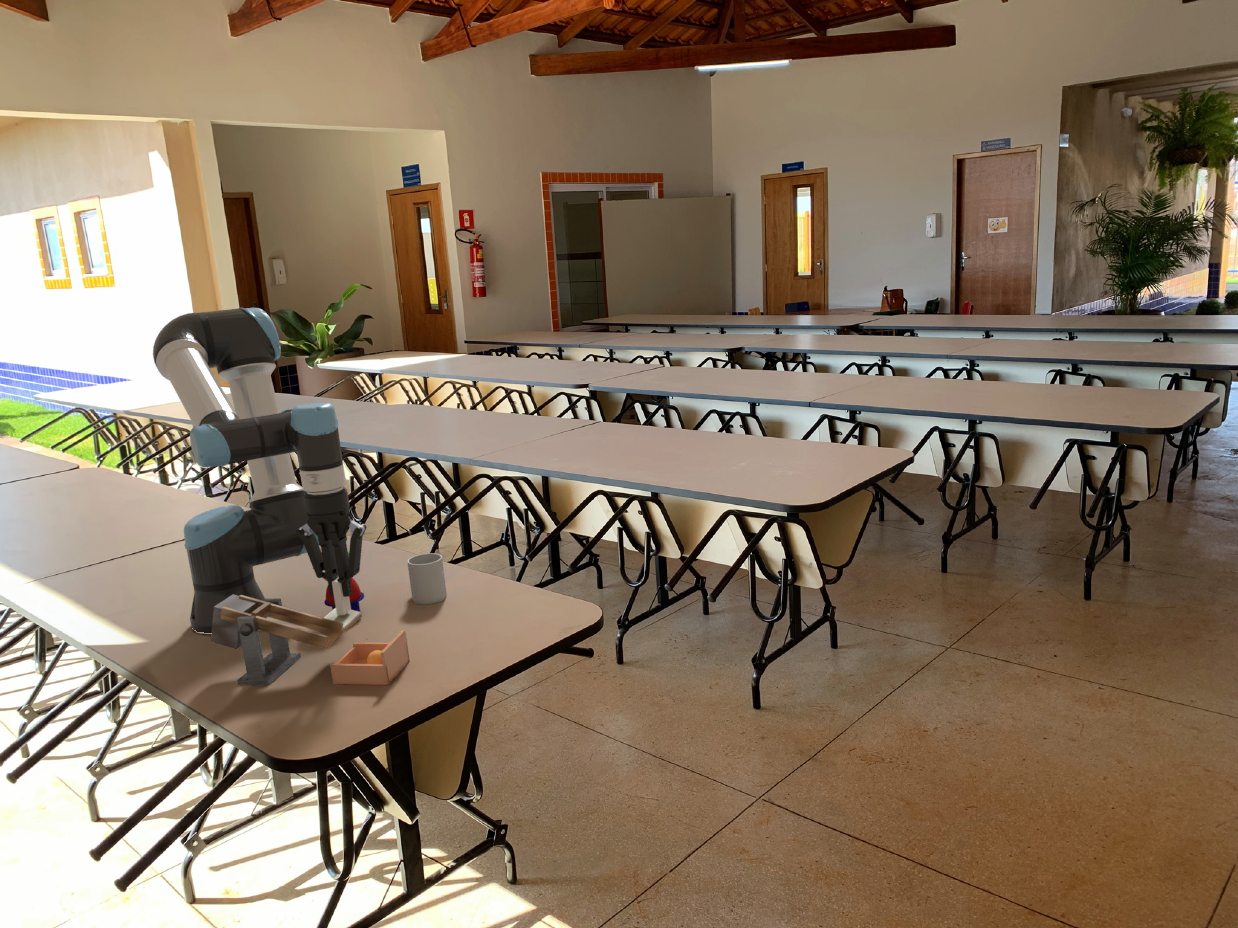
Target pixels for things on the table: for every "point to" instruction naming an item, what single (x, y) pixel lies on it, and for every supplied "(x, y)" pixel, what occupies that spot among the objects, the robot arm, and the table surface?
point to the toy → (354, 597)
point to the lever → (277, 622)
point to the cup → (427, 578)
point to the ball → (374, 657)
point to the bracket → (255, 665)
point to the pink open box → (359, 672)
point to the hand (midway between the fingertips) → (344, 612)
